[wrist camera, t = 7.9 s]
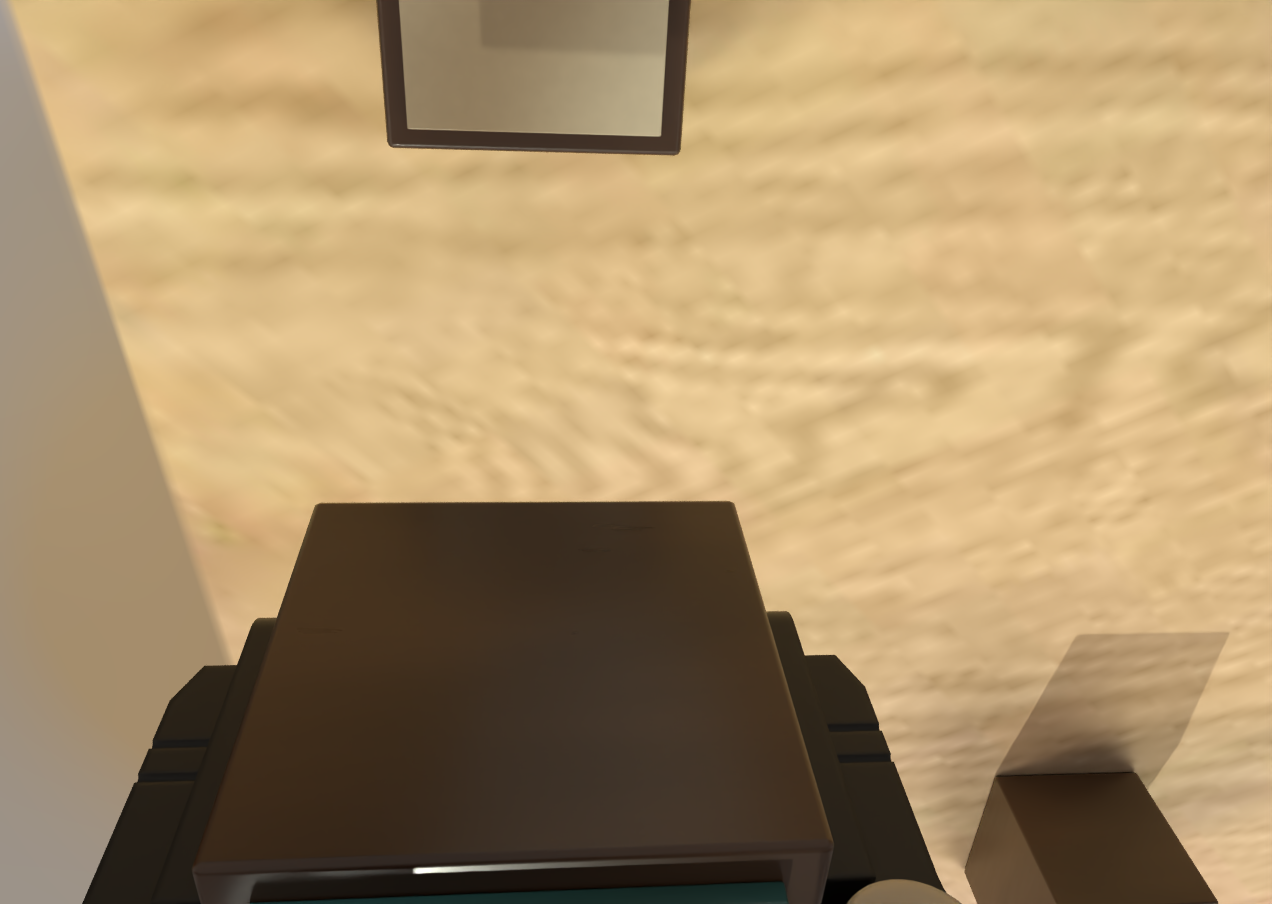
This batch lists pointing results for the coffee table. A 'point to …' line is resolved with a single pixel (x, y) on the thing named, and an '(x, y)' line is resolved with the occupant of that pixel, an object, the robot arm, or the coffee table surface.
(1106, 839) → the red-topped brown block
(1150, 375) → the coffee table surface
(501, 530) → the teal topped brown block
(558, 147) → the brown block
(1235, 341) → the coffee table surface
